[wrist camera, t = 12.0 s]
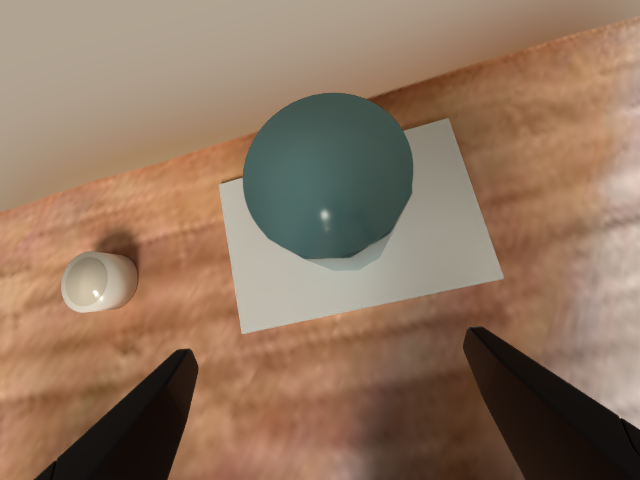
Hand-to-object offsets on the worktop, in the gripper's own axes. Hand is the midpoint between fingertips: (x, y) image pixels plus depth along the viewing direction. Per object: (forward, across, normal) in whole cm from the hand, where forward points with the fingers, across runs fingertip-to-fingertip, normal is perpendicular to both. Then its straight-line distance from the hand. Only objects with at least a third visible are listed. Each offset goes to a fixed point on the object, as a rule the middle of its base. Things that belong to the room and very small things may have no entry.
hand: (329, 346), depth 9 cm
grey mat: (+14, -2, +2) cm, 14 cm away
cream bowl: (+15, +19, +6) cm, 25 cm away
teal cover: (+13, -2, +2) cm, 14 cm away
